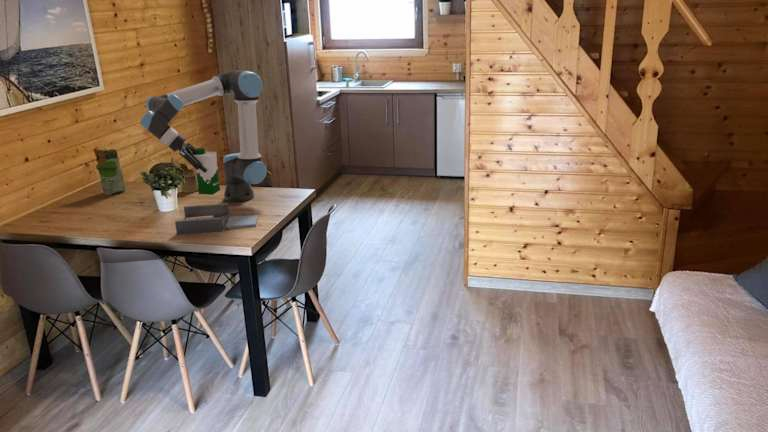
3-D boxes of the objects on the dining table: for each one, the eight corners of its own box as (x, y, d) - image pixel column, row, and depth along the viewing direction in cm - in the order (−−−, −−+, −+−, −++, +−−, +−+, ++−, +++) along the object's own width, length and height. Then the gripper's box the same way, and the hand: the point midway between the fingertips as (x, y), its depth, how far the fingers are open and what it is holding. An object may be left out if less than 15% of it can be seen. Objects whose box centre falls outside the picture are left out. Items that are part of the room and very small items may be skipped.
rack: (186, 218, 299) (184, 206, 297) (229, 215, 301) (227, 203, 299) (177, 234, 278) (175, 221, 276) (223, 231, 280) (221, 218, 278)
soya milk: (205, 188, 292) (199, 146, 285) (223, 189, 290) (218, 147, 283) (195, 194, 283) (189, 151, 277) (214, 195, 282) (208, 151, 275)
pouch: (127, 193, 343) (119, 147, 334) (103, 197, 337) (95, 151, 328) (123, 188, 352) (115, 144, 343) (100, 192, 346) (91, 147, 337)
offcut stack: (185, 227, 287) (183, 217, 285) (221, 224, 288) (220, 214, 287) (182, 232, 281) (181, 221, 280) (219, 229, 283) (218, 219, 281)
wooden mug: (180, 187, 349) (175, 155, 343) (202, 188, 346) (198, 156, 340) (171, 192, 341) (166, 160, 335) (194, 193, 338) (189, 160, 332)
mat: (229, 218, 296) (229, 216, 295) (258, 216, 297) (257, 214, 296) (226, 228, 283) (226, 226, 283) (255, 226, 285) (255, 224, 284)
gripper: (173, 140, 288) (213, 172, 295) (162, 151, 268) (205, 185, 274) (183, 128, 287) (223, 160, 293) (173, 139, 266) (215, 173, 273)
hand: (214, 172), depth 284 cm, fingers closed on soya milk, 9 cm apart
